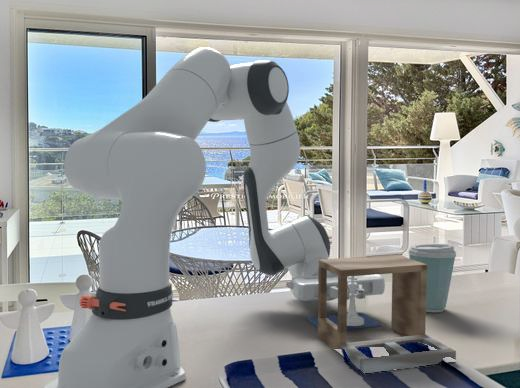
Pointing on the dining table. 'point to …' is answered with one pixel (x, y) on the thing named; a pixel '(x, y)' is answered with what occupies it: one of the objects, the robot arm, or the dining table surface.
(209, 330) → the dining table surface
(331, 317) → the mat
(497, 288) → the dining table surface
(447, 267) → the disposable coffee cup
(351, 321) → the chess piece
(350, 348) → the tunnel
